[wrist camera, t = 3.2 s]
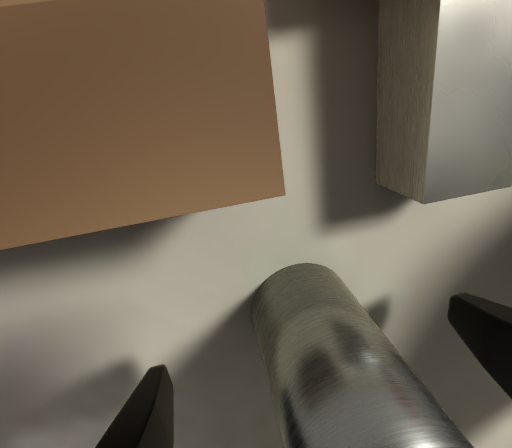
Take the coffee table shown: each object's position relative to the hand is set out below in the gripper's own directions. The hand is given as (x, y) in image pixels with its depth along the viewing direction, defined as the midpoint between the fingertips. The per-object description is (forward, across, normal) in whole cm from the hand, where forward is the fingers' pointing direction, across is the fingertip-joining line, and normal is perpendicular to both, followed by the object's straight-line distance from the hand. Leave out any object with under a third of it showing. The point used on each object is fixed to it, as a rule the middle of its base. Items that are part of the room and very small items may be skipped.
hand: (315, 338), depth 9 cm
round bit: (+2, 0, 0) cm, 2 cm away
